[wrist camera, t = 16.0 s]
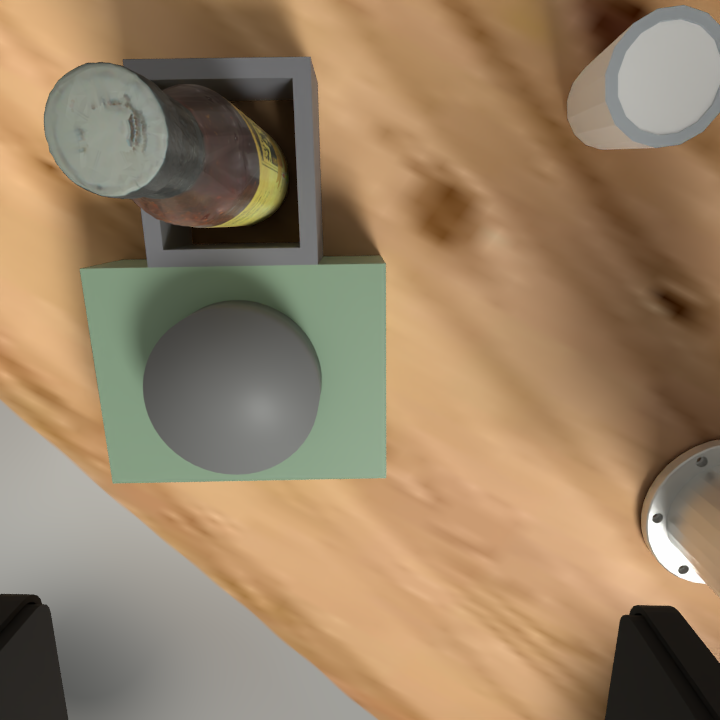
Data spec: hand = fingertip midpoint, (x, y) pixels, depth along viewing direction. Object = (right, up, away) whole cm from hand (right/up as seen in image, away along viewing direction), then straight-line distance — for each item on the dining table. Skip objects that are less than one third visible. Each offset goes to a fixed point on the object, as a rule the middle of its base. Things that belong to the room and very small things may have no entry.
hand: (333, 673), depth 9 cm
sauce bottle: (-7, +17, +27) cm, 33 cm away
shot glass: (+17, +22, +26) cm, 38 cm away
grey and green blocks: (-7, +11, +29) cm, 32 cm away
